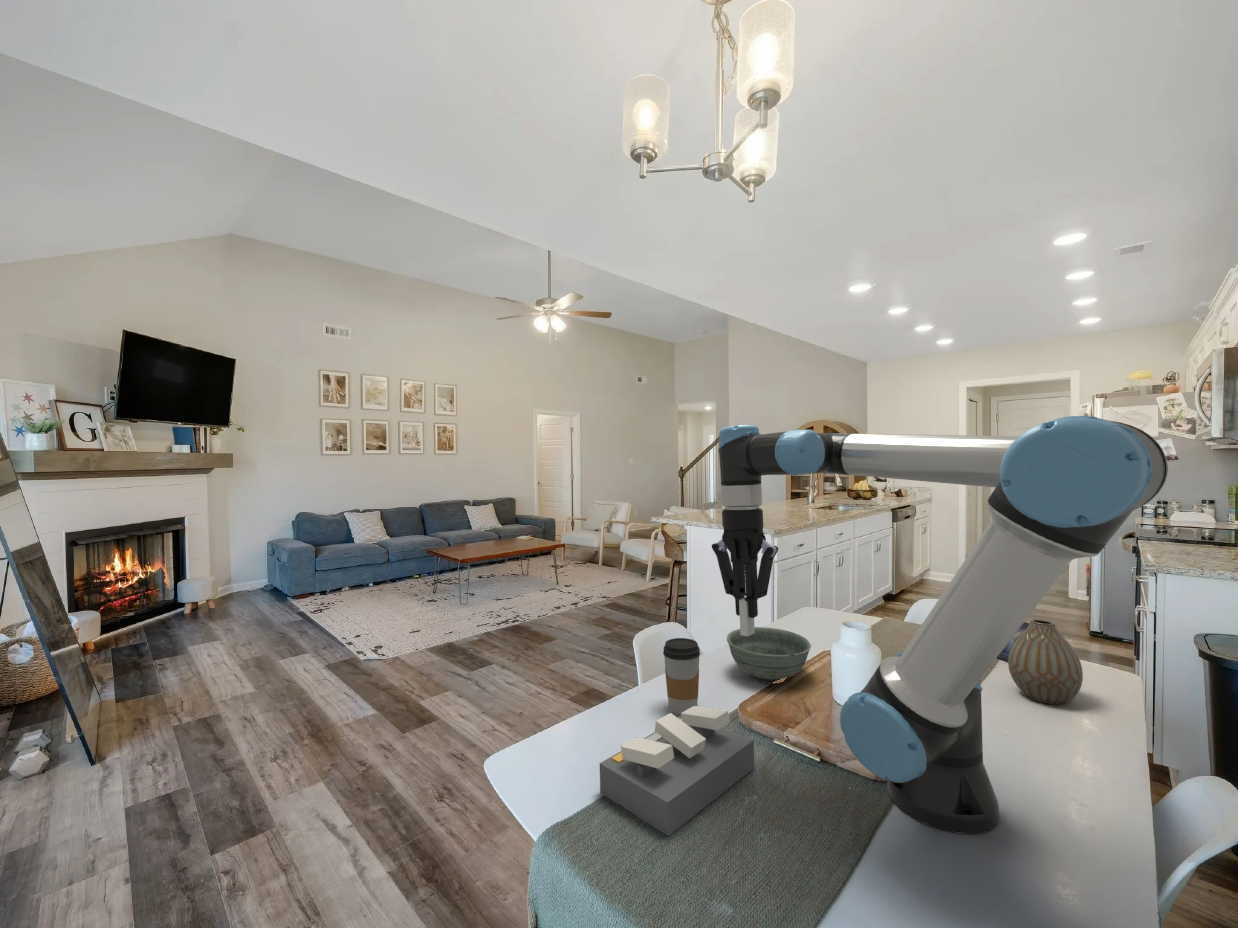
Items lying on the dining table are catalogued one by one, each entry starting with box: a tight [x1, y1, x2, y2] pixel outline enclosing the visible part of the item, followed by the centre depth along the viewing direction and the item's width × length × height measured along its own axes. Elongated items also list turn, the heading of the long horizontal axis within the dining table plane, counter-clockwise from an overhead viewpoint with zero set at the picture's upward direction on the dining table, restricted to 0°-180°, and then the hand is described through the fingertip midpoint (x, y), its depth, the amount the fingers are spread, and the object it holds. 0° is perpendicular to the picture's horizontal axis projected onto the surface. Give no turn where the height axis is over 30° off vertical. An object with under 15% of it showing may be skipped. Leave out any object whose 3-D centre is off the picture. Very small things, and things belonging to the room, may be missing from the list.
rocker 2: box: [654, 712, 706, 758], centre depth 90 cm, size 8×4×2 cm, turn 44°
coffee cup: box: [662, 637, 701, 717], centre depth 117 cm, size 8×8×15 cm
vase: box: [1007, 618, 1084, 706], centre depth 118 cm, size 13×13×18 cm
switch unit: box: [599, 716, 755, 837], centre depth 90 cm, size 15×24×6 cm, turn 134°
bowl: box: [726, 626, 812, 685], centre depth 133 cm, size 21×21×10 cm
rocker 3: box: [680, 705, 731, 730], centre depth 96 cm, size 8×4×2 cm, turn 45°
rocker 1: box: [620, 737, 674, 768], centre depth 85 cm, size 8×4×2 cm, turn 45°
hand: (747, 633), depth 97 cm, fingers closed
